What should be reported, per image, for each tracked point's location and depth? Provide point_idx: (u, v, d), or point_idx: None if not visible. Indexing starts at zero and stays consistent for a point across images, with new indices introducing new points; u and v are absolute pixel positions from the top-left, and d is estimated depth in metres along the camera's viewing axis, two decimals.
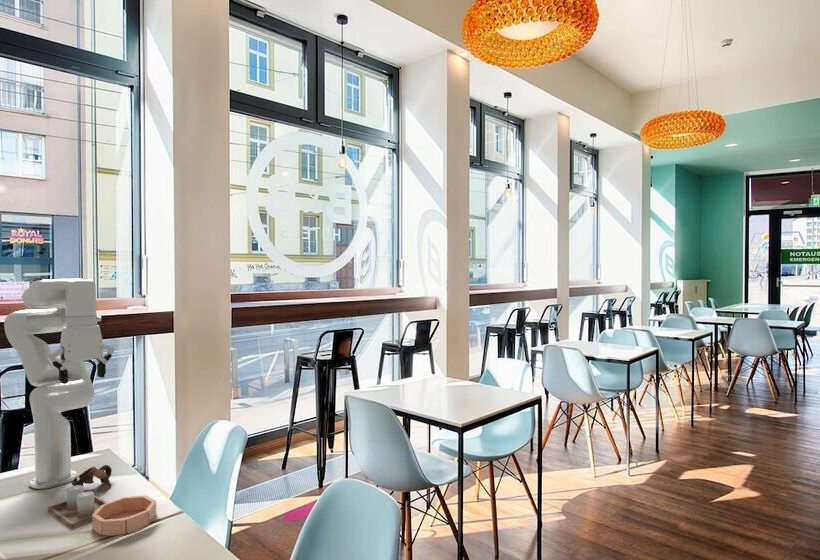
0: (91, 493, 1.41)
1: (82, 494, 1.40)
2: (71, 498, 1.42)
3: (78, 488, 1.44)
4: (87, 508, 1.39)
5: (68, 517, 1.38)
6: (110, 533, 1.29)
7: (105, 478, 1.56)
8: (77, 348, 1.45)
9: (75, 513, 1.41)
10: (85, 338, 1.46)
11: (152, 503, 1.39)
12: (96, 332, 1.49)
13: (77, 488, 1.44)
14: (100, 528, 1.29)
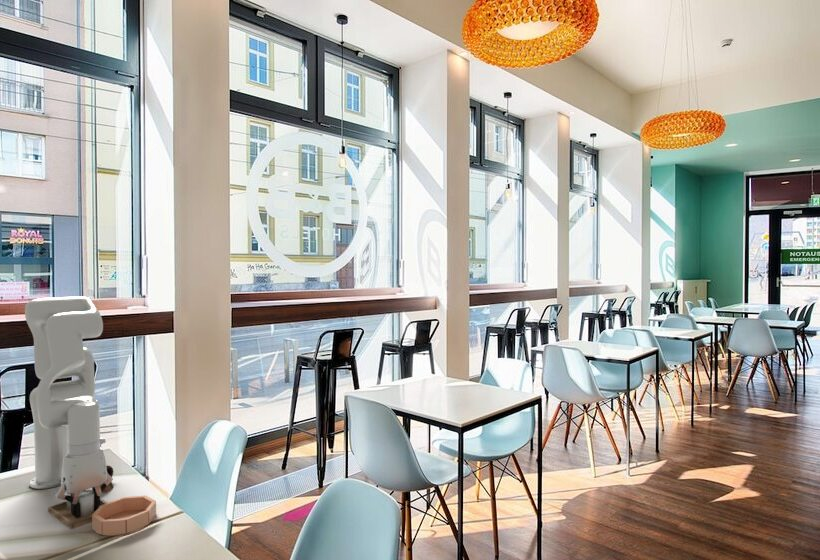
0: (91, 493, 1.41)
1: (82, 494, 1.40)
2: None
3: None
4: (87, 508, 1.39)
5: (68, 517, 1.38)
6: (110, 533, 1.29)
7: None
8: (79, 478, 1.37)
9: None
10: (88, 466, 1.38)
11: (152, 503, 1.39)
12: (100, 458, 1.41)
13: None
14: (100, 528, 1.29)
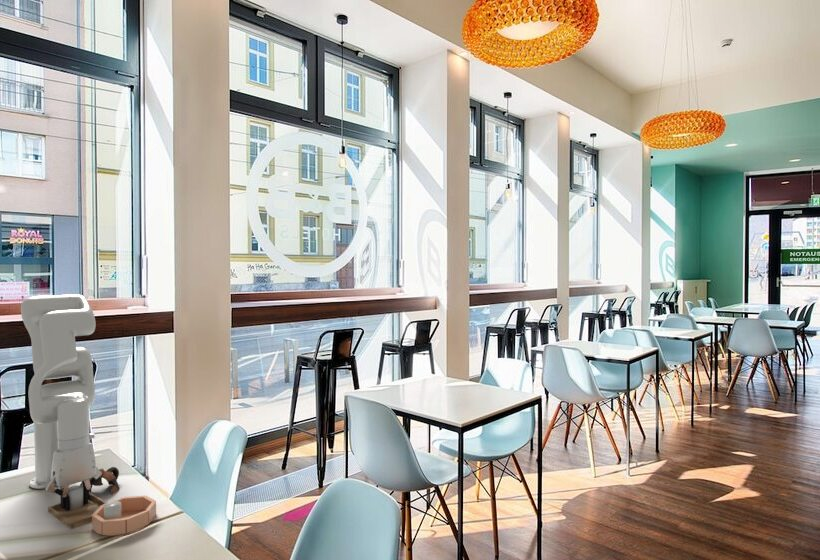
0: (113, 506, 1.32)
1: (115, 502, 1.35)
2: (71, 498, 1.42)
3: (78, 488, 1.44)
4: None
5: (68, 517, 1.38)
6: (110, 533, 1.29)
7: (114, 480, 1.55)
8: (69, 472, 1.41)
9: (75, 513, 1.41)
10: (77, 460, 1.42)
11: (152, 503, 1.39)
12: (89, 452, 1.45)
13: (77, 488, 1.44)
14: (100, 528, 1.29)
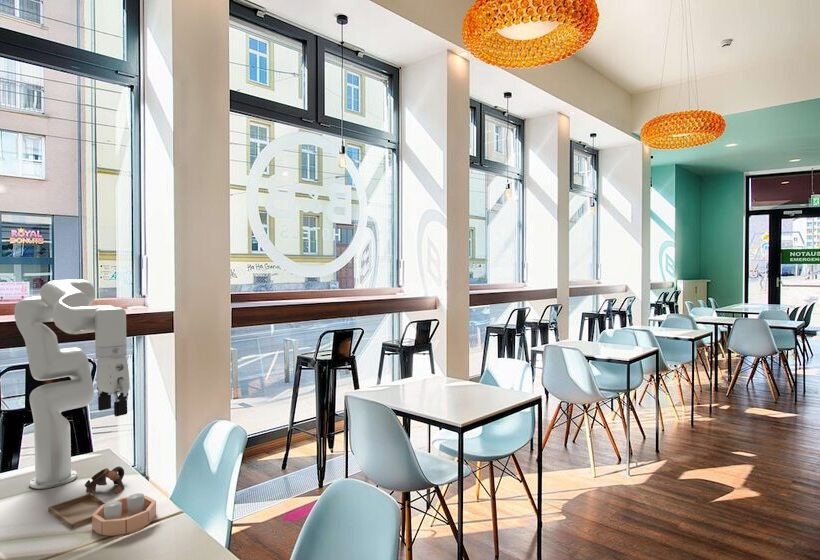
0: (114, 506, 1.33)
1: (115, 502, 1.35)
2: None
3: (133, 498, 1.37)
4: (105, 519, 1.32)
5: (68, 517, 1.38)
6: (110, 533, 1.29)
7: (118, 480, 1.55)
8: (100, 378, 1.41)
9: (75, 513, 1.41)
10: (101, 369, 1.40)
11: (152, 503, 1.39)
12: (108, 366, 1.38)
13: (133, 498, 1.37)
14: (100, 528, 1.29)
